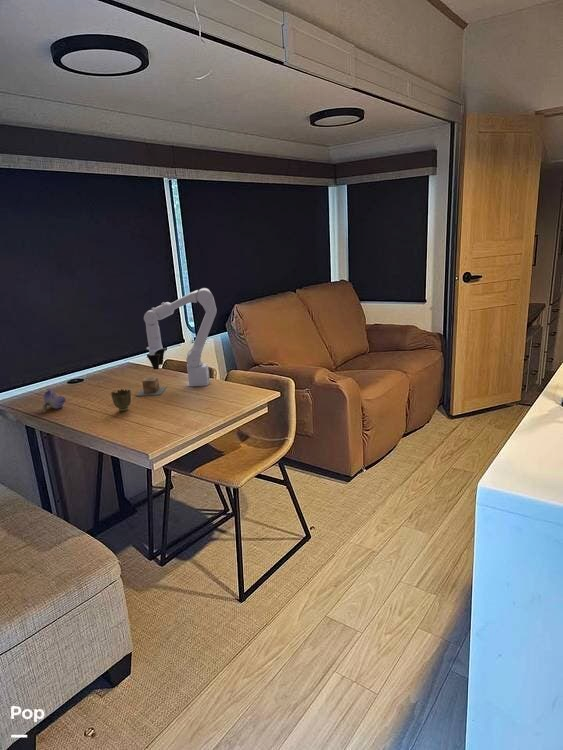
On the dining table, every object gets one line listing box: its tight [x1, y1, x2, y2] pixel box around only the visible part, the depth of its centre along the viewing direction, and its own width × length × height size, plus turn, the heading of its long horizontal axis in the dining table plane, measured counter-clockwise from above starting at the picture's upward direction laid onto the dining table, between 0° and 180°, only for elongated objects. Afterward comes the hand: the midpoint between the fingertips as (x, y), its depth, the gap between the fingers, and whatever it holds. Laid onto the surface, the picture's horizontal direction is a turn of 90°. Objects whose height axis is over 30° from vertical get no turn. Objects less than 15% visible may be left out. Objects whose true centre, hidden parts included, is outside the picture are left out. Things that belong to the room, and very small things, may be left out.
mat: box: [135, 386, 168, 397], centre depth 215 cm, size 11×11×1 cm
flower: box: [42, 388, 66, 413], centre depth 199 cm, size 9×9×10 cm
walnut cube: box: [142, 376, 160, 393], centre depth 214 cm, size 6×6×6 cm
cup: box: [110, 388, 132, 413], centre depth 192 cm, size 8×7×8 cm
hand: (158, 366), depth 218 cm, fingers open, 7 cm apart
